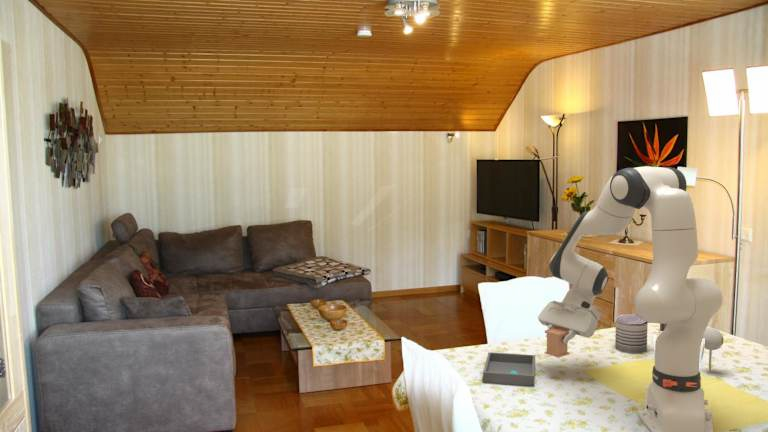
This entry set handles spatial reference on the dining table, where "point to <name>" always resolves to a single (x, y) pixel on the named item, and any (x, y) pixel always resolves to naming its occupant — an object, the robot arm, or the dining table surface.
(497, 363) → the charcoal tray
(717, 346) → the lollipop
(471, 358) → the dining table surface
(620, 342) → the can
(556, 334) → the terracotta square pedestal
